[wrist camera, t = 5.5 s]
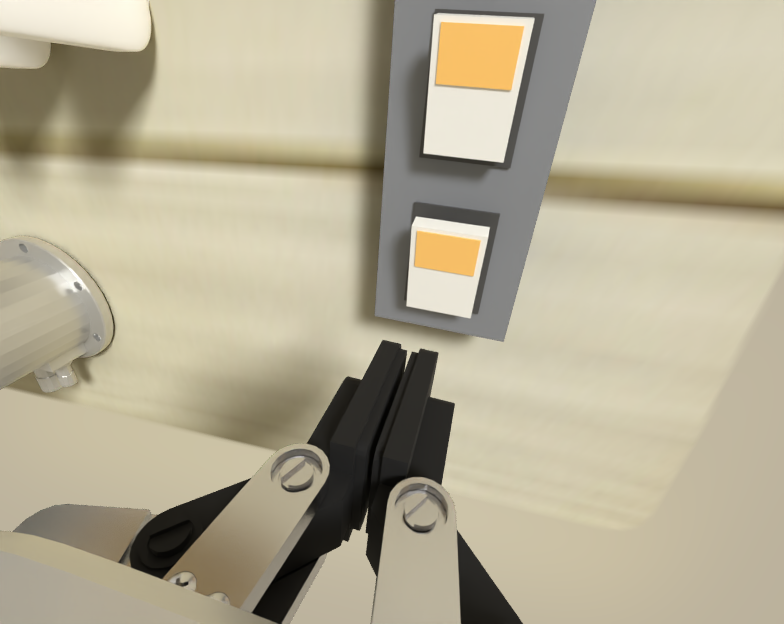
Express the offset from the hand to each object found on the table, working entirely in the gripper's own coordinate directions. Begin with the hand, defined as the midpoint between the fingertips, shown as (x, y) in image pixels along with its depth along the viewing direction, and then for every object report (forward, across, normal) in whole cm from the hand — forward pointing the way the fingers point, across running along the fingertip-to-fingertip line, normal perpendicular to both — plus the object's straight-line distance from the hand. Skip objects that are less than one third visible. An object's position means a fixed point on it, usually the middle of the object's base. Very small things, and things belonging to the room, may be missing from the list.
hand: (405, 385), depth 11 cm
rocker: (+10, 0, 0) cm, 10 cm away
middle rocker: (+10, 0, -8) cm, 13 cm away
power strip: (+15, 0, -12) cm, 20 cm away
